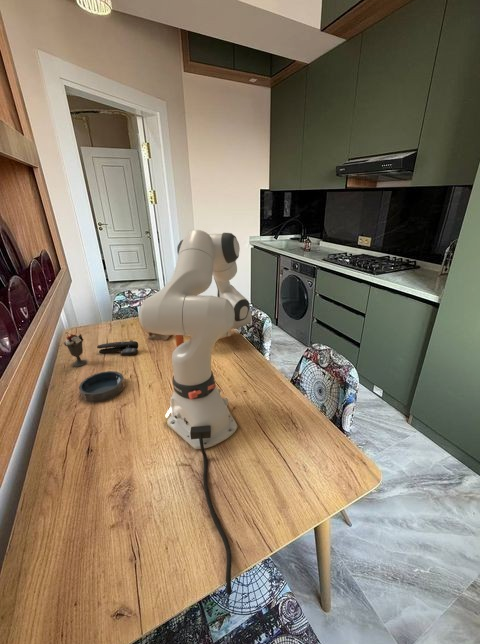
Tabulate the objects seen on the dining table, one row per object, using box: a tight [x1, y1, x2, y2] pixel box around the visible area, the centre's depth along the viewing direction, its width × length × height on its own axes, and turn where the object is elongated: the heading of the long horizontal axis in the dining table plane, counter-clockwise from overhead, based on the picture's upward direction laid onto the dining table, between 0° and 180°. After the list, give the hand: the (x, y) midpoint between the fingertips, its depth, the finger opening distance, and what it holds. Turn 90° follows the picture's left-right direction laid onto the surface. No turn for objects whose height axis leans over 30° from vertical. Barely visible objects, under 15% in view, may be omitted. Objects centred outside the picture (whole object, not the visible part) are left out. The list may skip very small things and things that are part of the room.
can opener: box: [96, 339, 139, 357], centre depth 125 cm, size 18×7×6 cm, turn 89°
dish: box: [78, 370, 126, 403], centre depth 101 cm, size 14×14×4 cm
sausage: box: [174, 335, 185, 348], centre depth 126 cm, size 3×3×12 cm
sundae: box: [63, 331, 88, 368], centre depth 115 cm, size 7×7×15 cm
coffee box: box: [147, 332, 171, 341], centre depth 138 cm, size 9×6×16 cm
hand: (194, 331), depth 129 cm, fingers open, 8 cm apart
